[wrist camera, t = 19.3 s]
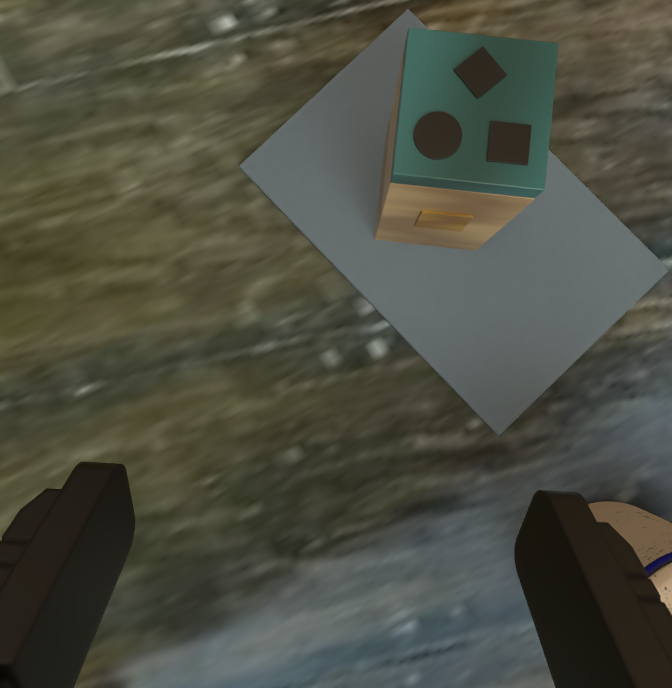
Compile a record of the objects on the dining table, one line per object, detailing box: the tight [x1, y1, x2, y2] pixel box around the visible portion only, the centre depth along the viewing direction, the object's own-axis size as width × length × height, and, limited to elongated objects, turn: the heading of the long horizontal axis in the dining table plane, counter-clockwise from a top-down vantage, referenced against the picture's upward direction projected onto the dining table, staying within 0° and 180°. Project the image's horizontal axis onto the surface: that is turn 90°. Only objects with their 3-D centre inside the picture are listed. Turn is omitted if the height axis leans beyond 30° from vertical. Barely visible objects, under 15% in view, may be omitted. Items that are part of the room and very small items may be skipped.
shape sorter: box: [374, 28, 558, 251], centre depth 25 cm, size 6×6×10 cm
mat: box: [239, 9, 669, 436], centre depth 30 cm, size 22×14×1 cm, turn 44°
